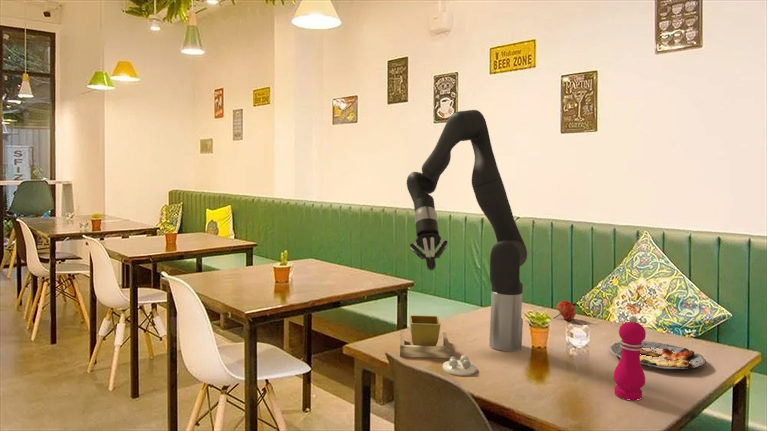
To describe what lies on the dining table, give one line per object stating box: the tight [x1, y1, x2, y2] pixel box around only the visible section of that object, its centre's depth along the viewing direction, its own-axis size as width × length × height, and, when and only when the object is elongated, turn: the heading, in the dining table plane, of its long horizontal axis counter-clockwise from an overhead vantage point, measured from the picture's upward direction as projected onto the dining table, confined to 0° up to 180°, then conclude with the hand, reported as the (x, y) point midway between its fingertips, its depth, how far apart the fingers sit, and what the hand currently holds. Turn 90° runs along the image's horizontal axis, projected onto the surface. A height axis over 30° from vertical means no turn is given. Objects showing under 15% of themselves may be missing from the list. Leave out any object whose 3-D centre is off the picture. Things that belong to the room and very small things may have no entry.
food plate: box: [609, 340, 707, 371], centre depth 168 cm, size 25×23×4 cm
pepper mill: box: [612, 315, 647, 401], centre depth 140 cm, size 7×7×20 cm
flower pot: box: [409, 315, 441, 346], centre depth 172 cm, size 9×9×9 cm
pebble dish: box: [442, 354, 477, 377], centre depth 156 cm, size 9×9×3 cm
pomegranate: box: [553, 299, 578, 321], centre depth 209 cm, size 7×7×10 cm
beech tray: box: [399, 330, 451, 359], centre depth 173 cm, size 14×15×3 cm
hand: (431, 269), depth 185 cm, fingers closed
